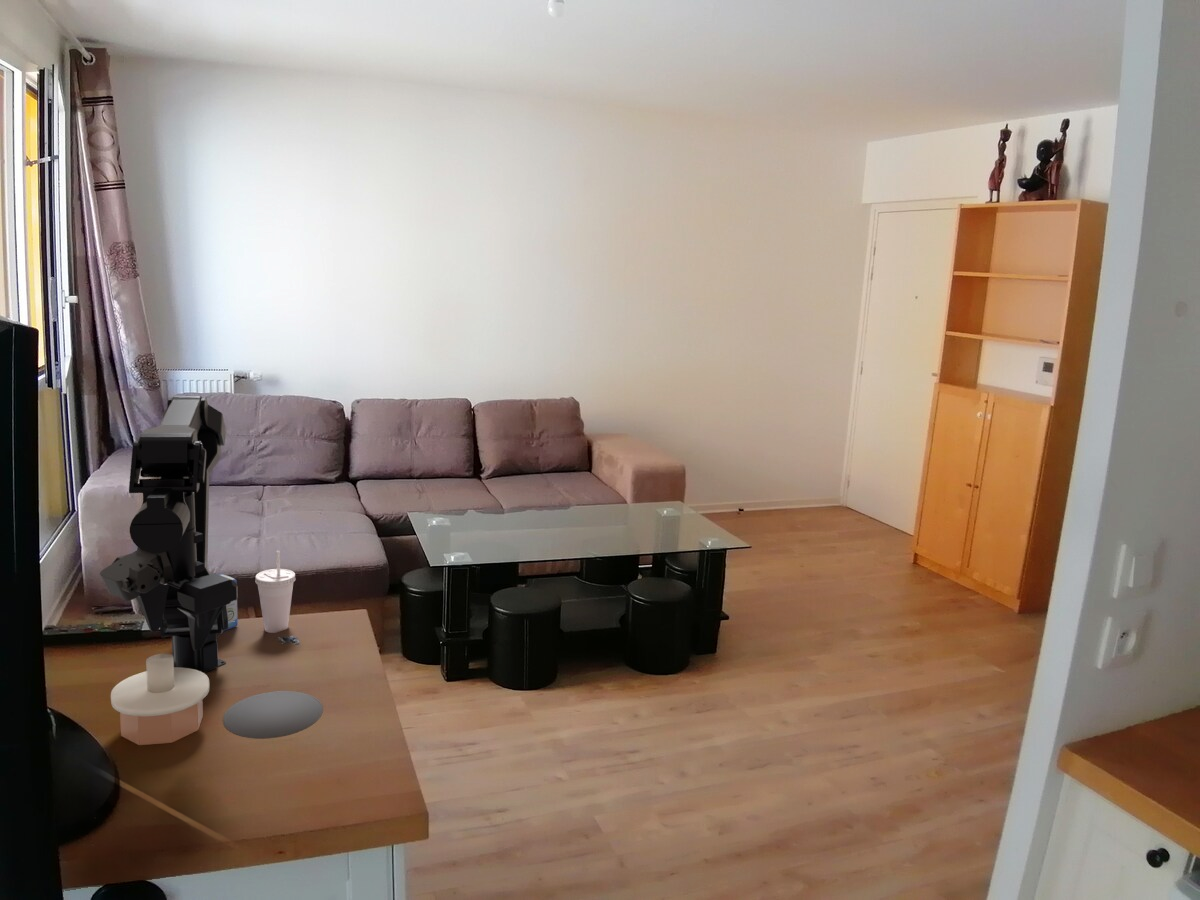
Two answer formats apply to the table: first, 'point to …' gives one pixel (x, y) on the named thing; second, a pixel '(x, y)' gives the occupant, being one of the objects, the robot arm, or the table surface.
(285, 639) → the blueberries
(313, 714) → the mat
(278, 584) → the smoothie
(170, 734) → the bowl
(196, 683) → the lid
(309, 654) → the table surface
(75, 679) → the table surface
